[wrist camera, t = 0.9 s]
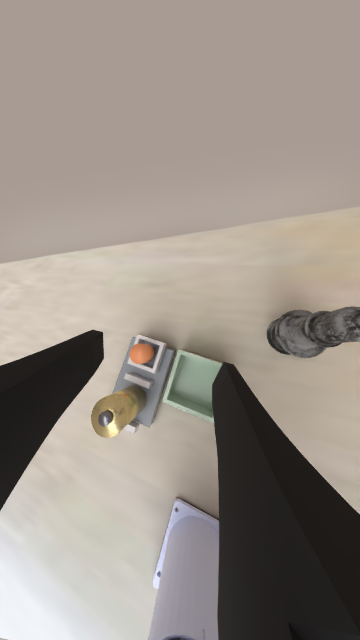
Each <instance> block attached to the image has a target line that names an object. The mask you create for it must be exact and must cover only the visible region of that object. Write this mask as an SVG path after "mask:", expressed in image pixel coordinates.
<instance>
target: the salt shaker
mask: <svg viewBox="0 0 360 640" xmlns="http://www.w3.org/2000/svg"><path fill="white" fill-rule="evenodd" d="M267 339H268V341H269V344H270V345H271V346H272V347H273V348H274V349H275V350H276V351H278V352H280V353H283V354H287V355H289V354H292V355H294V356H297V357H301V358H310V357H314V356H317V355H319V354H321V353H322V352H323V351H324V350H325V349H326V348H327V347H335V346H338V345H340V344H341V343H343V342H357V341H360V307H345V308H342V309H338V310H335V311H332V312H329V311H319V312H316V313H311V312H309V311H304V310H294V311H290V312H287V313H286V314H284V315H282V316H281V318H280V319H277V320H275V321H274V322H272V323H271V324H270V326H269V328H268V330H267Z"/></svg>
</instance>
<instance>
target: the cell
mask: <svg viewBox="0 0 360 640" xmlns="http://www.w3.org/2000/svg"><path fill="white" fill-rule="evenodd" d="M145 405H146V394H145V392H144V390H143V389H142V388H141V387H139V386H137V385H131V386H128V387H126V388H124V389H122V390H120V391H117V392H115V393H113V394H111V395H109V396H107V397H104V398H102V399H101V400H99V401H98V402H97V403H96V405H95V406H94V408H93V411H92V415H91V421H92V426H93V428H94V430H95V432H96V433H97V434H98V435H100V436H101V437H104V438H111V437H114V436H115V435H117V434H118V433H119V432H120V431H121V430H122V429H123V428H124V427H125V426H127V425H128V424H129V423H130V422H131V421H132V420H133V419H134V418H135V417H136V416H137V415H138V414H139V413H140V412H141V411H142V410H143V409H144V407H145Z"/></svg>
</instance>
